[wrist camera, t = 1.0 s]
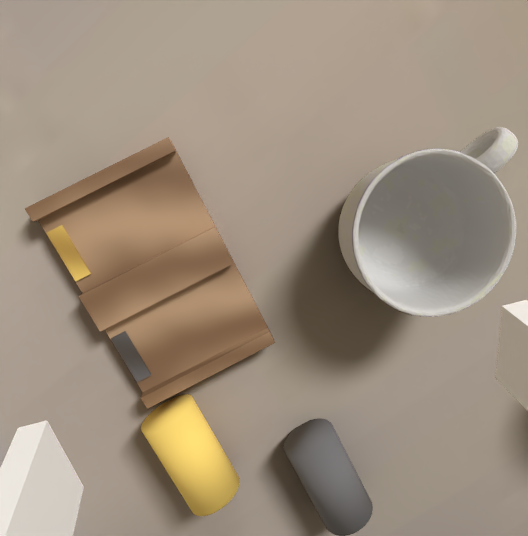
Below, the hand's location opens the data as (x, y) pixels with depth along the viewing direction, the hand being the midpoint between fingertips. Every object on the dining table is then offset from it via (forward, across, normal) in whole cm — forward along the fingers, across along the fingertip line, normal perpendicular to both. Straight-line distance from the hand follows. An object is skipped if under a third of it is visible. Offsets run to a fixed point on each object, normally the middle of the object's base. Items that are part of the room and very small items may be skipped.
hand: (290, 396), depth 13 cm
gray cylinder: (+14, -3, +24) cm, 28 cm away
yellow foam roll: (+16, +7, +18) cm, 25 cm away
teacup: (+22, -14, +5) cm, 27 cm away
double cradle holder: (+22, +6, +6) cm, 23 cm away
